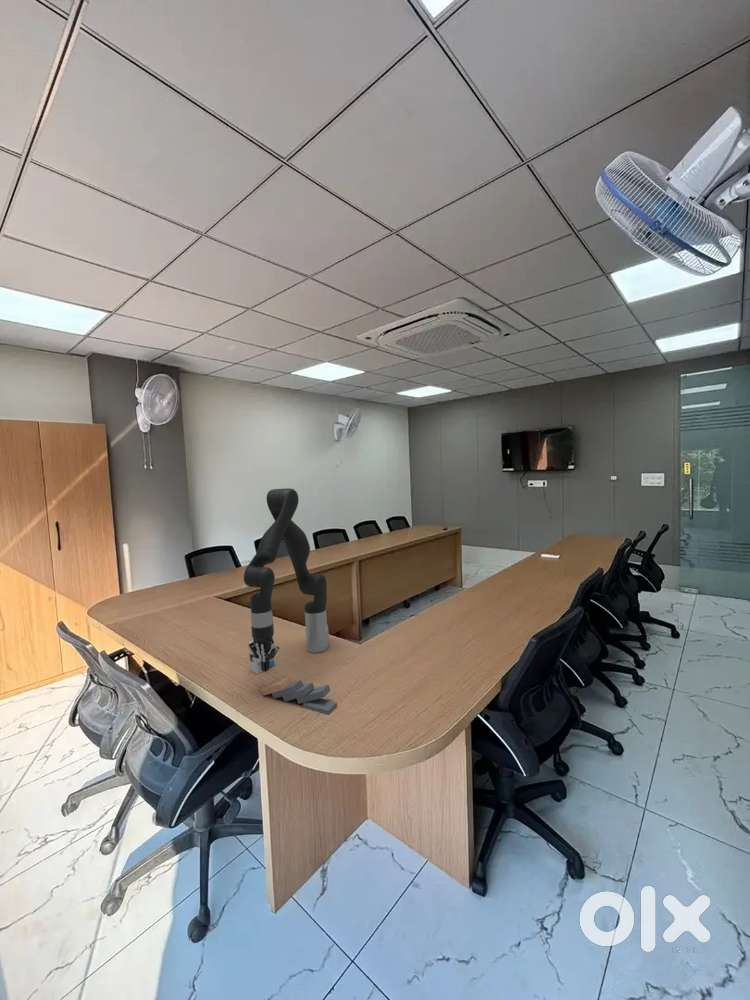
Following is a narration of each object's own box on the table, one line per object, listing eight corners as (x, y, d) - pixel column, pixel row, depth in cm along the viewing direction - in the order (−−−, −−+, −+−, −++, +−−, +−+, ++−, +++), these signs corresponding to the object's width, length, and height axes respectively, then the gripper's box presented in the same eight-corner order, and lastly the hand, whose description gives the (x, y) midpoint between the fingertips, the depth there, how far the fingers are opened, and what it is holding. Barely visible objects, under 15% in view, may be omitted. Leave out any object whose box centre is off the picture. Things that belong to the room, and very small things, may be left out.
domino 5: (302, 703, 134) (328, 710, 129) (312, 696, 138) (336, 702, 134) (303, 709, 134) (328, 716, 129) (312, 701, 139) (337, 708, 134)
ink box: (267, 662, 168) (265, 634, 167) (275, 665, 165) (273, 637, 164) (249, 671, 161) (247, 642, 161) (256, 674, 158) (254, 645, 157)
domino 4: (296, 698, 136) (322, 691, 133) (303, 691, 140) (328, 684, 138) (298, 704, 135) (324, 697, 133) (305, 697, 140) (330, 690, 138)
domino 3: (282, 696, 138) (303, 689, 134) (291, 688, 143) (312, 682, 138) (284, 701, 138) (305, 695, 134) (293, 694, 142) (314, 687, 138)
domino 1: (272, 688, 147) (291, 682, 142) (262, 695, 142) (282, 690, 138) (270, 683, 147) (289, 677, 142) (260, 690, 143) (279, 684, 138)
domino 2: (271, 693, 140) (291, 686, 136) (281, 686, 145) (301, 679, 140) (274, 698, 140) (294, 692, 135) (283, 691, 144) (303, 685, 140)
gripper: (283, 621, 144) (286, 669, 145) (256, 617, 151) (259, 662, 152) (268, 629, 137) (271, 679, 139) (240, 623, 144) (244, 671, 145)
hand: (265, 670), depth 145 cm, fingers closed
